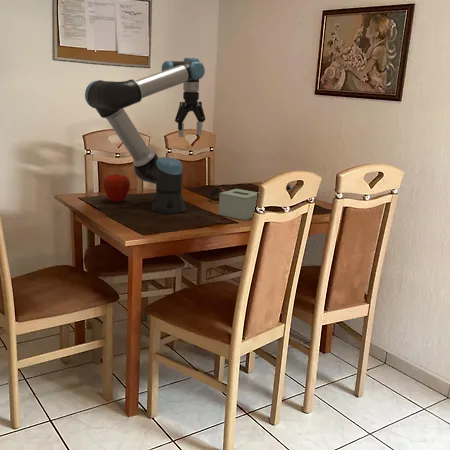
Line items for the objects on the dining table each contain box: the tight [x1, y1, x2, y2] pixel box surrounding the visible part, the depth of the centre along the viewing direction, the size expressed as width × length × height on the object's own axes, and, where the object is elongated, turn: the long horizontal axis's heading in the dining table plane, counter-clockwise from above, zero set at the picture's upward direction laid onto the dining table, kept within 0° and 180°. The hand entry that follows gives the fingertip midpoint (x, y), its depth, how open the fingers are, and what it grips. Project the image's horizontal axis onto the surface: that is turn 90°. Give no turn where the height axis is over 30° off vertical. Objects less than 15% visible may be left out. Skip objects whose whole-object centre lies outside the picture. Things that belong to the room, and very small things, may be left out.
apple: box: [103, 172, 131, 203], centre depth 254 cm, size 12×12×14 cm
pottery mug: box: [208, 186, 230, 201], centre depth 268 cm, size 12×10×8 cm
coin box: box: [218, 188, 259, 221], centre depth 241 cm, size 14×14×10 cm
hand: (190, 136), depth 260 cm, fingers open, 13 cm apart
